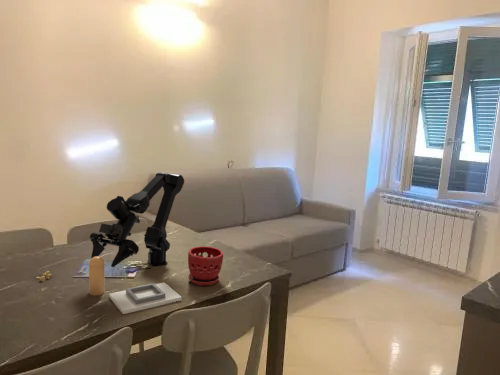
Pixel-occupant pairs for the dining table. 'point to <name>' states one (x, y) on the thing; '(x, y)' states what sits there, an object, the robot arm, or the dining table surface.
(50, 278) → the yellow knobbed cluster
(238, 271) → the dining table surface
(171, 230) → the dining table surface
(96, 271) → the orange domed cylinder
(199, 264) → the plant pot
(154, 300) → the plate
